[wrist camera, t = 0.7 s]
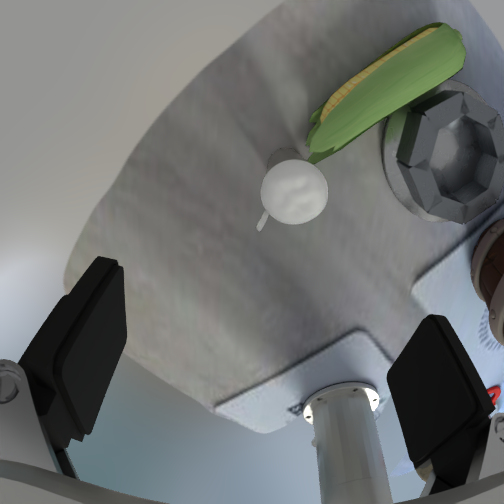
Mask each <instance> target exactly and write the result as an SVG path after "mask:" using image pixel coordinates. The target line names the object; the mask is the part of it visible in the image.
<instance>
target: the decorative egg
mask: <svg viewBox="0 0 504 504" xmlns="http://www.w3.org/2000/svg"><path fill="white" fill-rule="evenodd" d="M432 468H433V466H432V464H431V465H429V466H428V467H425V468H420V469H415V470H416V471H417V473H418V475H419V476H420V478H421V479H422V480H424V481H425V482H427V480H428V477H429V475H430V473H431V470H432Z"/></svg>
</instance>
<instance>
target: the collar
mask: <svg viewBox="0 0 504 504" xmlns="http://www.w3.org/2000/svg"><path fill="white" fill-rule="evenodd" d="M497 113H498V112H497V111H496V110H494V109H493V108H491V107H489V106H488V105H487V103H486V102H485V101H484V99H483V98H482V97H481V96H480V95H479V94H478V93H477V92H476V91H474V90H473V89H472V88H470V87H469V86H467V85H465V84H463V83H461V82H458V81H454V80H446V81H445V82H443V83H442V84H440V85H439V86H437V87H436V88H434V89H432V90H431V91H429V92H427V93H426V94H424V95H422V96H421V97H419V98H417V99H416V100H414V101H412V102H411V103H409V104H407V105H406V106H404V107H402V108H401V109H399V110H397V111H396V112H394V113H393V114H391V115H389V117H388V119H387V122H386V125H385V129H384V134H383V139H382V161H383V168H384V172H385V175H386V179H387V181H388V183H389V186H390V188H391V190H392V191H393V193H394V195H395V196H396V197H397V199H398V200H399V201H400V202H401V203H402V204H403V205H404V206H405V207H406V208H407V209H408V210H409V211H410V212H412V213H413V214H414V215H416V216H418V217H420V218H422V219H425V220H428V221H433V222H448V221H453V222H456V223H459V224H463V223H465V224H466V223H467V222H469V221H470V220H472V219H473V218H475V217H476V216H478V215H479V214H481V213H482V212H484V211H485V210H486V209H488V208H489V207H491V206H492V205H494V204H495V203H496V200H498V199H499V196H500V193H501V190H502V187H503V184H504V127H503V124H502V120H501V117H500V114H497ZM495 199H496V200H495Z"/></svg>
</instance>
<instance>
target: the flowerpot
mask: <svg viewBox="0 0 504 504" xmlns="http://www.w3.org/2000/svg"><path fill="white" fill-rule="evenodd" d="M470 274H471V280H472V283H473V286H474V288H475V291H476V293H477V295H478V296H479V298H480V299H481V300H482V301H484V302H486V305H487V307H488V310H489V325H490V329H491V331H492V334H493V335H494V337H495V338H496V340H497V341H498V342H499V343H500V344H502V345H503V346H504V219H502V220H498V221H496V222H494V223H493V224H491V225H490V227H489V228H487V229H486V230H485V231H484V232H483V233H482V235H481V236H480V238H479V240H478V246H475V249H474V252H473V256H472V264H471V272H470Z"/></svg>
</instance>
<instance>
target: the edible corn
mask: <svg viewBox="0 0 504 504" xmlns="http://www.w3.org/2000/svg"><path fill="white" fill-rule="evenodd" d="M461 40H462V35H461V34H460V32H459V31H458V30H456V29H452V28H451V27H450V26H449V25H448V24H446V23H440V22H438V23H432V24H429V25H426V26H424V27H422V28H420V29H417V30H416V31H414V32H413V33H411V34H410V35H408V36H407V37H405V38H404V39H402V40H401V41H399V42H398V43H397V44H395V45H394V46H393V47H391V48H390V49H389V50H387V51H386V52H385V53H383V54H382V55H381V56H380V57H378V58H377V59H376V60H375V61H373V62H372V63H371V64H370V65H368V66H367V67H366V68H365V69H363V70H362V71H361V72H360V73H358V74H357V75H356V76H354V77H353V78H351V79H350V80H348V81H347V82H346V83H345V84H344V85H343V86H341V87H340V88H339V89H338V90H337V91H336V92H335V93H334V94H332V95H331V97H330V98H329V99H328V100H327V101H326V102H325V103H324V104H323V105H321V106H320V107H319V108H318V109H317V110H316V111H315V112H314V113H313V114H312V116H311V118H310V120H309V122H313V123H316V124H315V126H314V127H313V128H312V130H311V131H310V133H309V134H308V138H307V142H306V146H308V145H310V149H309V152H313V154H312V155H311V156H310V157H309V159H308V161H309V162H310V163H312V164H315V163H317V162H319V161H321V160H323V159H324V158H326V157H328V156H330V155H332V154H334V153H336V152H338V151H339V150H341V149H342V148H344V147H345V146H346V145H348V144H349V143H350V142H352V141H353V140H354V139H356V138H357V137H358V136H360V135H361V134H363V133H364V132H365V131H367V130H368V129H369V128H371V127H372V126H373V125H375V124H377V123H378V122H380V121H381V120H383V119H385V118H386V117H388V116H389V115H391V114H393V113H394V112H396V111H397V110H399V109H401V108H402V107H404V106H406V105H407V104H409V103H411V102H412V101H414V100H416V99H417V98H419V97H421V96H422V95H424V94H426V93H427V92H429V91H431V90H432V89H434V88H436V87H437V86H439V85H440V84H442V83H443V82H445V81H446V80H448V79H449V78H451V77H452V76H454V75H455V74H456V73H458V72H459V71H460V70H462V68H463V64H464V61H465V56H466V50H465V47H464V45H463V43H462V41H461Z"/></svg>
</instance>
